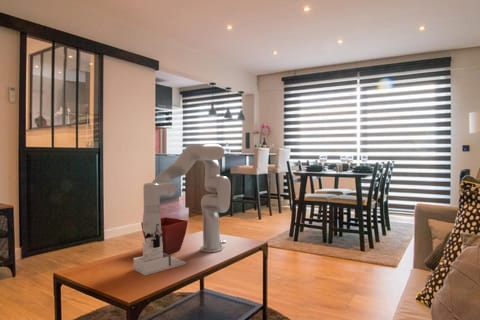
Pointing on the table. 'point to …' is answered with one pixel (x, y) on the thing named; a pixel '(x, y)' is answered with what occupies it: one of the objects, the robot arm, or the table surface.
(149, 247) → the ink cartridge box
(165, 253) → the holder gate
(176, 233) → the plant pot
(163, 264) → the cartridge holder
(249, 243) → the table surface
